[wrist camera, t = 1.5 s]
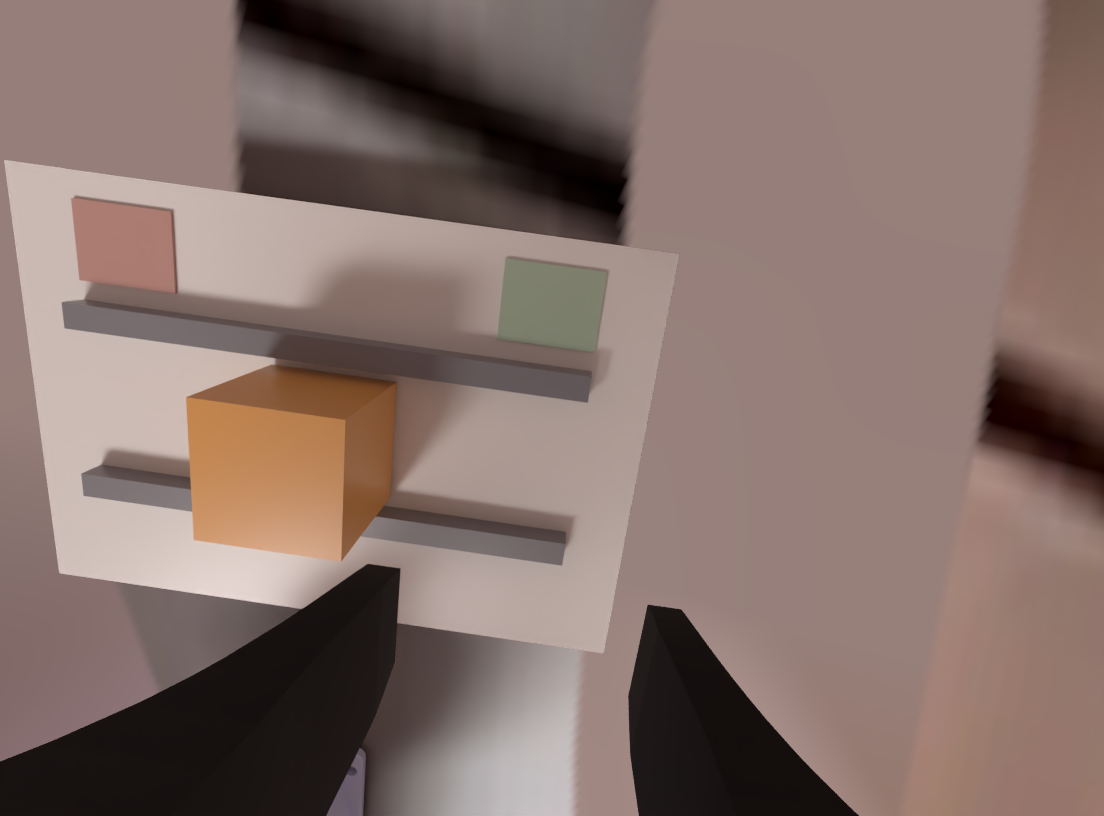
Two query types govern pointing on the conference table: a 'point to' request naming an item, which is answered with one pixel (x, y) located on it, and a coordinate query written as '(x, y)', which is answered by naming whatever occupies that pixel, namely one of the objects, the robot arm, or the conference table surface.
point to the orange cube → (290, 460)
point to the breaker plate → (351, 349)
